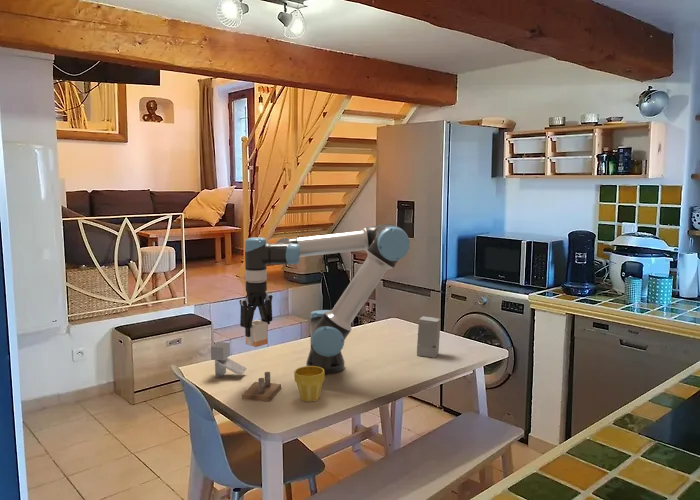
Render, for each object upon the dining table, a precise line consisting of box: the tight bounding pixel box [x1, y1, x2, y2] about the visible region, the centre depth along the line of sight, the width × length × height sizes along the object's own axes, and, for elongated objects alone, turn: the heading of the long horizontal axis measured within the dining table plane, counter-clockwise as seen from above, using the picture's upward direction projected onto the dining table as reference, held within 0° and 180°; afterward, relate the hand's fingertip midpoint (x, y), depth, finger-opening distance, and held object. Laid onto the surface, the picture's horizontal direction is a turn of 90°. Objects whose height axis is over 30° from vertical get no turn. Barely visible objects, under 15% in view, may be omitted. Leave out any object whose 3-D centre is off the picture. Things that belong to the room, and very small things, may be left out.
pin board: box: [241, 371, 282, 402], centre depth 195 cm, size 10×12×6 cm
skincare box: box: [416, 316, 442, 359], centre depth 235 cm, size 8×7×16 cm
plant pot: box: [293, 366, 326, 402], centre depth 191 cm, size 10×10×10 cm
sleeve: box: [245, 319, 269, 348], centre depth 203 cm, size 6×6×8 cm
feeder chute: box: [210, 341, 247, 379], centre depth 211 cm, size 12×6×12 cm, turn 78°
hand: (256, 342), depth 203 cm, fingers closed on sleeve, 6 cm apart
